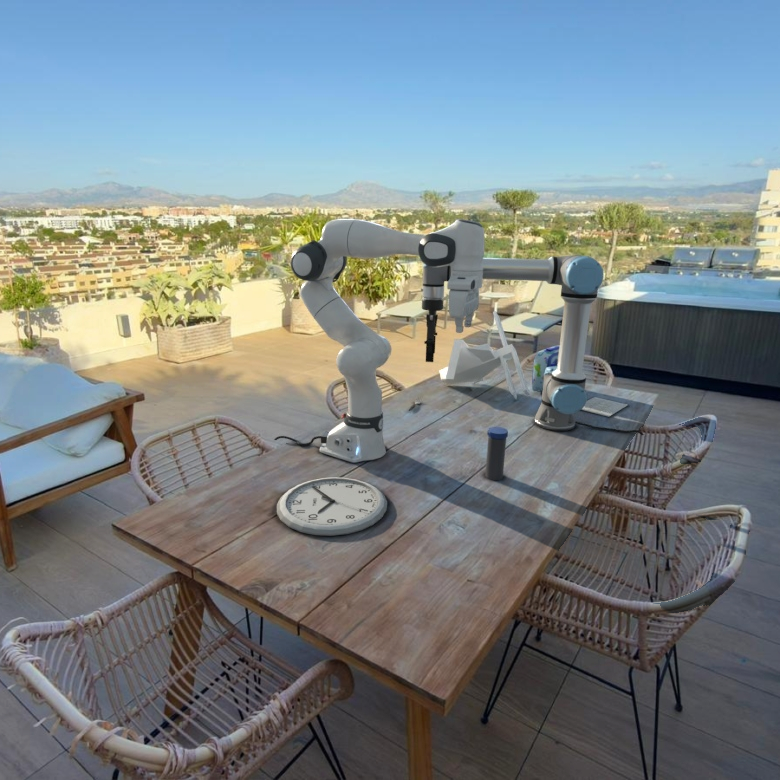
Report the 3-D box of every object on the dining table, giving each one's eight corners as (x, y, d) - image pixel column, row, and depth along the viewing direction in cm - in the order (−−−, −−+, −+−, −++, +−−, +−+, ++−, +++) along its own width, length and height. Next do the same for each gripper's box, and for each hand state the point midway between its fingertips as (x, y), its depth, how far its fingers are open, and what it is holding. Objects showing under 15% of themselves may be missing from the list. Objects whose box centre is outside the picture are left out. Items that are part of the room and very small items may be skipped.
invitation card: (608, 416, 214) (573, 407, 224) (608, 416, 214) (573, 408, 224) (628, 404, 229) (594, 396, 238) (628, 405, 229) (594, 397, 238)
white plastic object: (461, 429, 252) (437, 405, 227) (444, 352, 274) (420, 323, 250) (535, 404, 240) (518, 377, 215) (510, 326, 262) (492, 293, 237)
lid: (483, 433, 159) (484, 427, 158) (500, 430, 161) (501, 425, 160) (494, 440, 154) (494, 435, 153) (511, 437, 156) (512, 432, 155)
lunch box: (548, 398, 236) (553, 353, 229) (527, 393, 243) (531, 349, 237) (575, 387, 253) (581, 344, 247) (555, 382, 260) (560, 341, 254)
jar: (482, 473, 163) (485, 429, 158) (496, 471, 164) (500, 427, 160) (491, 481, 158) (494, 435, 154) (506, 478, 160) (510, 433, 155)
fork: (405, 411, 216) (405, 406, 215) (417, 400, 230) (417, 395, 230) (411, 412, 215) (411, 407, 214) (422, 400, 229) (422, 396, 229)
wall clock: (392, 527, 129) (268, 531, 127) (391, 533, 130) (269, 537, 127) (383, 473, 158) (282, 475, 155) (383, 478, 158) (282, 480, 156)
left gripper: (464, 277, 156) (462, 323, 160) (445, 283, 138) (443, 334, 142) (485, 278, 154) (482, 324, 158) (468, 284, 136) (465, 337, 140)
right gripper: (424, 293, 195) (422, 349, 202) (419, 302, 172) (417, 365, 178) (444, 294, 195) (441, 350, 201) (442, 303, 171) (439, 366, 177)
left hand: (463, 329), depth 150 cm, fingers open, 8 cm apart
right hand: (430, 357), depth 190 cm, fingers open, 13 cm apart
